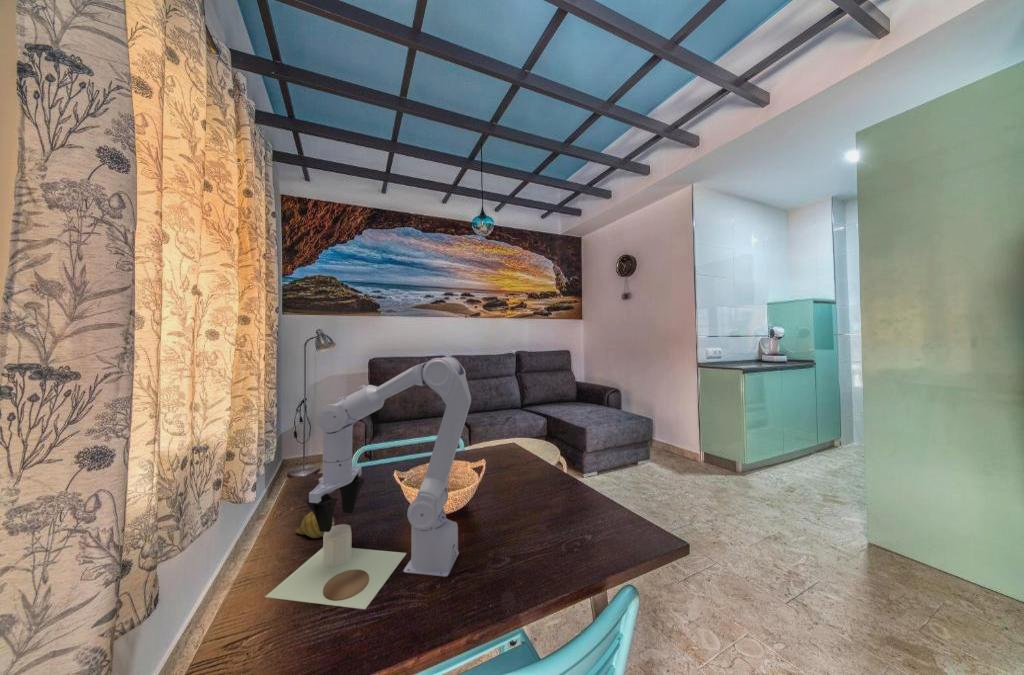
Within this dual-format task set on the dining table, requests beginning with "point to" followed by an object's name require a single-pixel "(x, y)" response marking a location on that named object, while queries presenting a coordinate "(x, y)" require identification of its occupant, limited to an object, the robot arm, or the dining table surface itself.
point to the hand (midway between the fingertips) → (337, 521)
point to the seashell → (311, 526)
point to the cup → (337, 545)
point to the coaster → (345, 585)
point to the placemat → (315, 575)
